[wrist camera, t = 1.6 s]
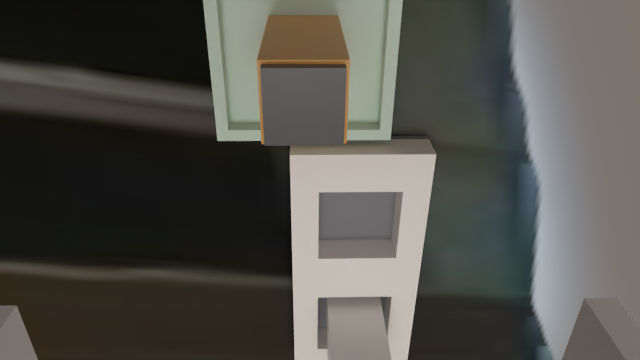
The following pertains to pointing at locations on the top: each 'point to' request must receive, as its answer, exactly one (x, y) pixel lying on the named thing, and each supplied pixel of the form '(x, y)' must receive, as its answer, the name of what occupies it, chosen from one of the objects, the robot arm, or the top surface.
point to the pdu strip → (358, 232)
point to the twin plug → (356, 329)
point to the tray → (244, 44)
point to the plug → (303, 81)
